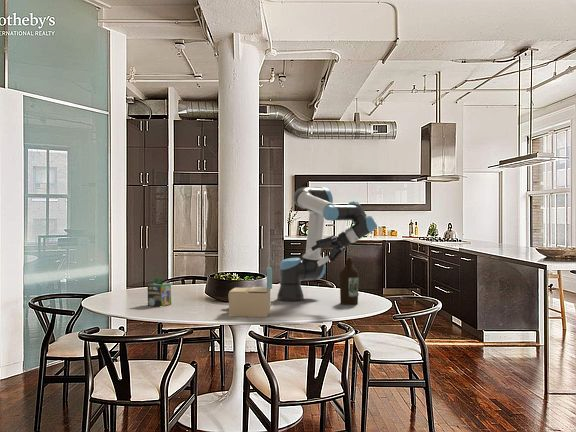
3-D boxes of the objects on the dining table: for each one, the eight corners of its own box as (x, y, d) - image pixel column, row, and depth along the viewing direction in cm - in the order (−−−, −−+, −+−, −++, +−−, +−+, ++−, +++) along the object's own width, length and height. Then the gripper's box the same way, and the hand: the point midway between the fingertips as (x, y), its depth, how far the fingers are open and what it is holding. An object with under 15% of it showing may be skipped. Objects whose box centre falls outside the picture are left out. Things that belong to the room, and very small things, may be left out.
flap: (252, 288, 282) (252, 266, 282) (273, 288, 281) (273, 266, 281) (248, 291, 268) (248, 269, 268) (269, 292, 267) (269, 269, 267)
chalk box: (171, 304, 302) (171, 277, 302) (161, 307, 294) (161, 278, 294) (157, 303, 306) (157, 276, 306) (146, 305, 298) (146, 278, 298)
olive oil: (335, 303, 308) (335, 257, 308) (350, 301, 314) (350, 256, 314) (347, 305, 299) (347, 258, 299) (362, 303, 305) (363, 257, 305)
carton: (234, 310, 283) (234, 287, 283) (270, 310, 282) (270, 287, 282) (228, 316, 267) (228, 291, 267) (266, 316, 266) (266, 292, 266)
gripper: (341, 232, 270) (304, 254, 274) (359, 253, 289) (324, 273, 293) (335, 220, 275) (299, 243, 278) (353, 242, 294) (319, 262, 298)
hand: (312, 258), depth 286 cm, fingers open, 13 cm apart
